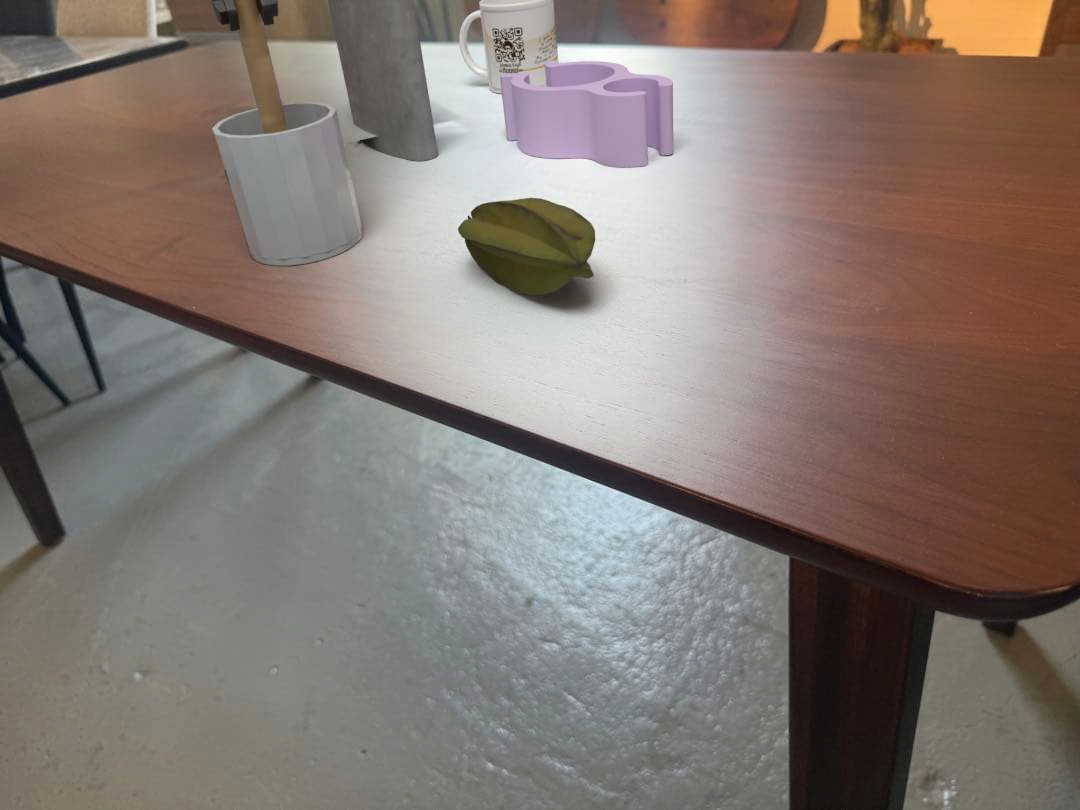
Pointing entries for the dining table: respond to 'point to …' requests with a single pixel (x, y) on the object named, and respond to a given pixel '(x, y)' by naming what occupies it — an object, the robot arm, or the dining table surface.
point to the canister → (290, 184)
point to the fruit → (529, 244)
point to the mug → (513, 39)
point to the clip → (590, 113)
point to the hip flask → (385, 75)
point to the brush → (260, 67)
